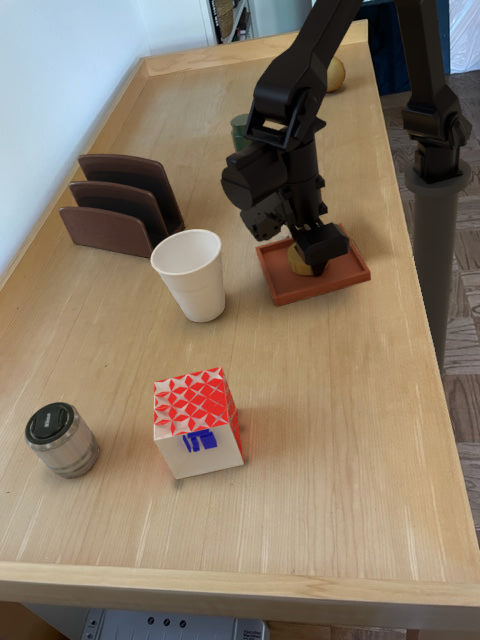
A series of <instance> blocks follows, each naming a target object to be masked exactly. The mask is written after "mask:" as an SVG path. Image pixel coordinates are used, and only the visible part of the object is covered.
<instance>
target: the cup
mask: <svg viewBox="0 0 480 640" xmlns="http://www.w3.org/2000/svg"><path fill="white" fill-rule="evenodd" d="M222 248H223V241H222V239H221V237H220V236H219V235H218V234H216V232H213V231H211V230H209V229H203V228H202V229H201V228H199V229H198V228H193V229H187V230H182V231H181V232H179V233H176V234H174V235H172V236H170V237H168V238H166V239H165V240H163V241H162V242H161V243H160V244H159V245H158V246H157V247H156V248H155V249H154V251H153V252H152V255H151V258H150V265H151V267H152V268H153V269H154V270H155V271H156V272H157V273H158V275H159V277H160V278H161V279H162V280H163V282H164V284H165V285H166V288H167V289H168V290H169V292H170V293H171V295H172V297H173V298H174V300H175V301H176V302H177V305H178V306H179V307H180V309H181V310H182V312H183V314H184V315H185V317H186V318H187V319H188V320H189V321H192V322H195V323H207V322H211V321H213V320H215V319H217V318H218V317H219V316H220V315H221V314H222V313H223V312H224V310H225V309H226V295H225V283H224V282H225V281H224V272H223V259H222Z"/></svg>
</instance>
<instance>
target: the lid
mask: <svg viewBox="0 0 480 640" xmlns="http://www.w3.org/2000/svg"><path fill="white" fill-rule="evenodd" d="M294 246H296V242H295V243H294V244H292V245H291V246H290V248H289V249H288V256H287V257H288V263H289V265H290V268H291V270H292V271H293V272H295V273H297V274H300V275H313V273H312V270H311V267H310V266H309V265H306V264H305V263H304V261H303V260H302V258H301V257H300V256H299V254H298V253H297V251H296V250H295V248H294ZM329 261H330V260H329ZM329 261H328V263H327V265H326V267H327V266H328V265H329ZM326 267H325V269H326Z"/></svg>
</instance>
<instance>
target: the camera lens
mask: <svg viewBox="0 0 480 640" xmlns="http://www.w3.org/2000/svg"><path fill="white" fill-rule="evenodd" d="M24 441H25V443H26V444H27V445H28V446H29V447H30V449H31V450H32V452H34V453H35V454H36V456H37V457H38V458H39V459H40V460H41V461H42V462H43V463H44V465H45V467H47V469H48V470H49V471H51V472H53V474H55V475H57V476H59V477H61V478H63V479H74V478H79V477H80V476H82V475H85V474H86V473H87V472H88V471H89V470H91V468H92V467H93V466H94V465H95V463H96V462H97V460H98V457H99V450H100V446H99V444H98V441H97V439H96V436H95V434H94V432H93V430H91V427H90V426H89V425H88V424H87V422H86V421H85V419H84V418H83V417H82V415H81V413H80V412H79V411H78V409H77V407H75V406H74V405H73V404H71V403H69V402H66V401H65V402H64V401H56V402H51V403H49V404H46V405H43V406H42V407H41V408H39V409H38V410H36V411H35V412H34V413H33V414H32V415H31V417H30V418H29V419H28V421H27V423H26V425H25V428H24Z"/></svg>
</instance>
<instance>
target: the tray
mask: <svg viewBox="0 0 480 640" xmlns="http://www.w3.org/2000/svg"><path fill="white" fill-rule="evenodd" d="M337 225H338V226H339V227H340V228H341V229H342V230H343V232H344V233H345V234H346V235H347V237H348V238H349V243H350V251H349V252H348V254H345V255H342V256H339V257H336V258H333V259H330V261H329V265H328V266H327V267H326V269H324V271H323V273H322V275H321V276H318V277H314V275H300V274H297V273H295V272H293V271H292V270H291V268H290V265H289V263H288V257H287V256H288V249H289V248H290V246H291V245H292V244H294V240H293V238H292V236H291V237H287V238H284V239H283V238H282V239H280V240H276V241H272V242H269V243H265V244H262V245H259V246H255V247H254V249H255V253H256V256H257V259H258V262H259V265H260V268H261V270H262V273H263V276H264V279H265V281H266V284H267V287H268V289H269V293H270V296H271V298H272V300H273V303H274V307H280V306H283V305H287V304H291V303H294V302H298V301H301V300H305V299H309V298H312V297H316V296H320V295H324V294H327V293H331V292H334V291H337V290H341V289H345V288H349V287H352V286H356V285H359V284H362V283H366V282H370V281H372V273H371V270H370V268H369V267H368V265H367V263H366V261H365V260H364V258H363V257H362V255H361V253H360V251H358V249H357V247H356V245H355V244H354V242H353V241H352V239H351V237H350V236H349V234H348V232H347V231H346V229H345V227H344V226H343V224H342V223H341V222H340V223H337Z"/></svg>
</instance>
